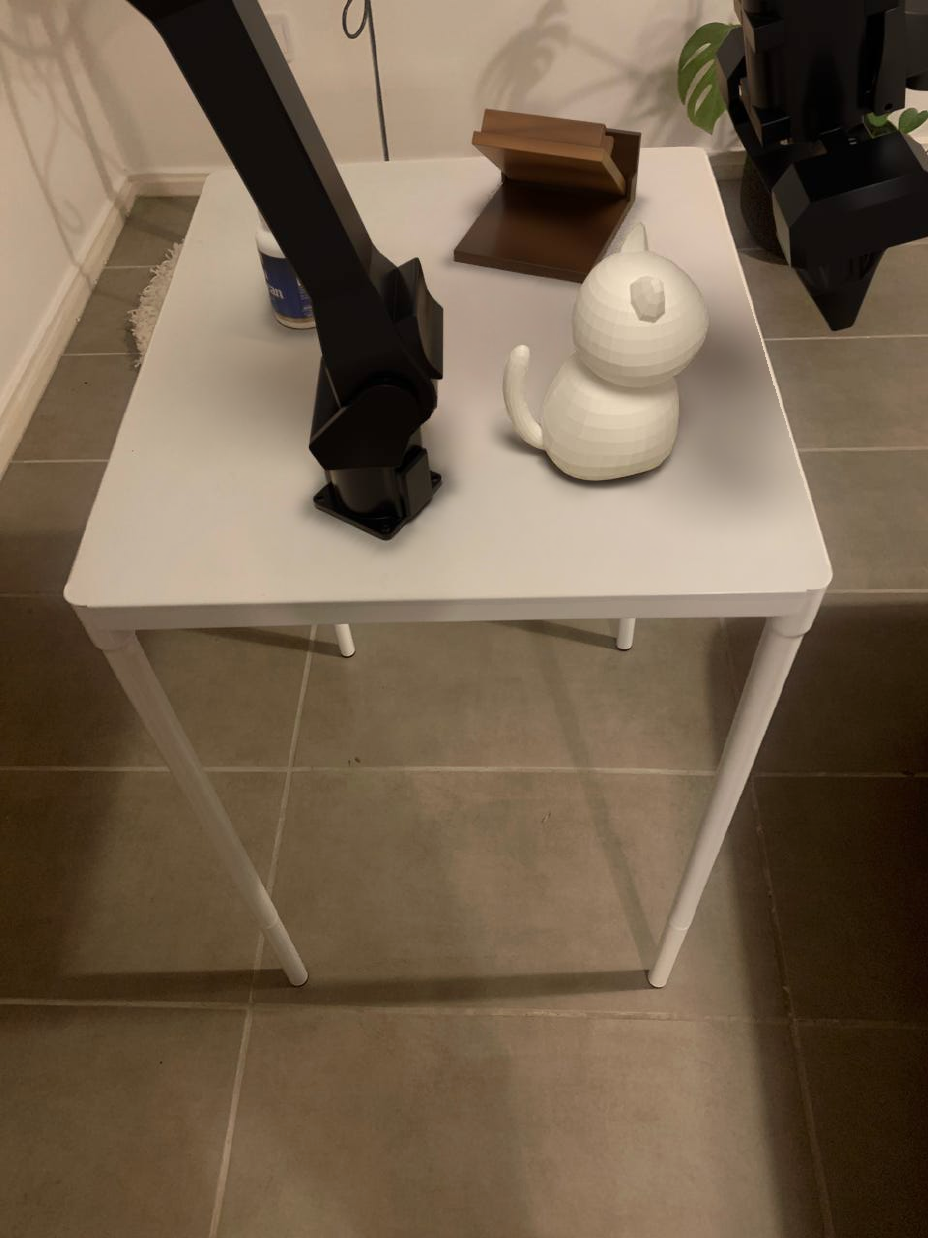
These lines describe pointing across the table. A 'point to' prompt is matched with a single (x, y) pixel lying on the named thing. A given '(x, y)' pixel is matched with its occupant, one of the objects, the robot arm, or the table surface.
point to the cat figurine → (616, 367)
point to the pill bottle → (282, 282)
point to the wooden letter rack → (550, 151)
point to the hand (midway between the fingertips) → (820, 276)
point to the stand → (552, 222)
